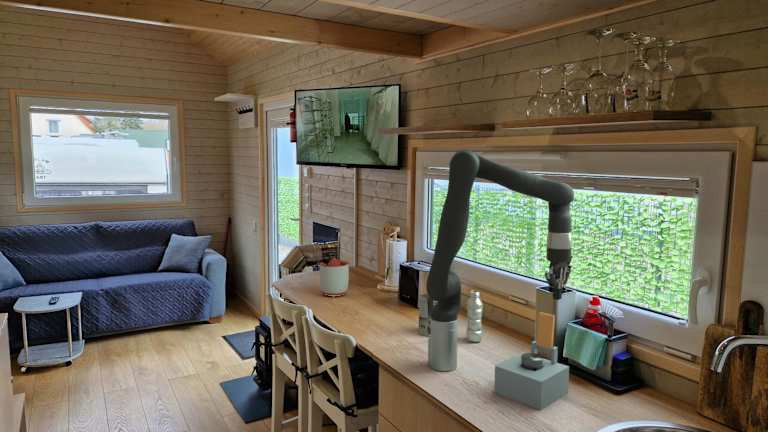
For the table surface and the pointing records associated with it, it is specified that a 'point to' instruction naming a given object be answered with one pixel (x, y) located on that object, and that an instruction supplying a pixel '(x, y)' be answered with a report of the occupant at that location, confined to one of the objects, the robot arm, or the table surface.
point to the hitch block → (532, 380)
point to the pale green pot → (334, 277)
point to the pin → (532, 361)
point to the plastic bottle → (474, 317)
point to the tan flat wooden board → (545, 332)
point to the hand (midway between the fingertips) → (557, 299)
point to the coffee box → (425, 314)
